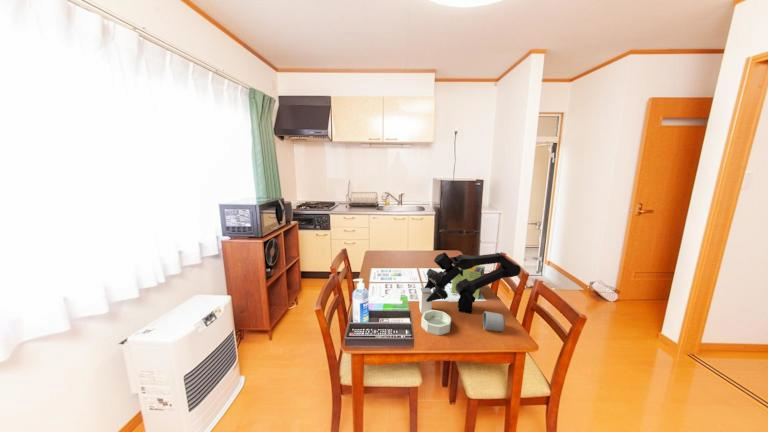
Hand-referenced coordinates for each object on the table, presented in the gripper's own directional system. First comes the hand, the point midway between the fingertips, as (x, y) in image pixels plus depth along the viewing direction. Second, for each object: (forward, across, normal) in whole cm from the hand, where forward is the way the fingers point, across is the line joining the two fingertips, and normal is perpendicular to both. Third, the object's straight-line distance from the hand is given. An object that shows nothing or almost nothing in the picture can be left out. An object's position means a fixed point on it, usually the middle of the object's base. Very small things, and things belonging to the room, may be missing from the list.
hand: (424, 296), depth 131 cm
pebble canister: (+5, 0, +6) cm, 8 cm away
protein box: (-15, -18, +26) cm, 35 cm away
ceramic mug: (-14, +15, +25) cm, 32 cm away
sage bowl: (+3, +13, +7) cm, 15 cm away
